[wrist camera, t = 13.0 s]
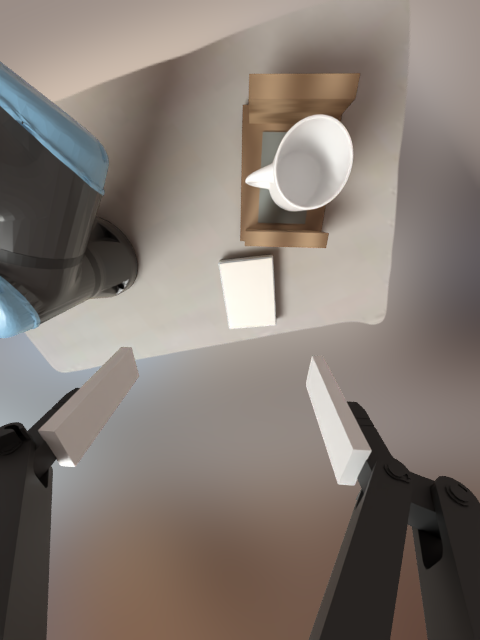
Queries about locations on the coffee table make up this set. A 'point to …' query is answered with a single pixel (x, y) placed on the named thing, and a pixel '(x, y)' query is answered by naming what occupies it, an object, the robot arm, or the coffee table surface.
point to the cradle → (262, 144)
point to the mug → (308, 164)
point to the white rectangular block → (249, 291)
